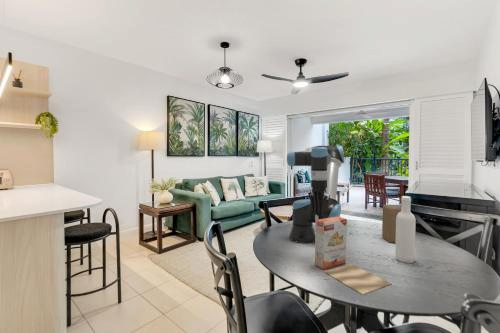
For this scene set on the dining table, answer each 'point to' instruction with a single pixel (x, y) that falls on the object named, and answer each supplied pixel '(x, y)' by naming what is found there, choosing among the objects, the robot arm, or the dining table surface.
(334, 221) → the cracker box
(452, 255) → the dining table surface
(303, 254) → the dining table surface
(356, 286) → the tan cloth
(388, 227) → the wooden block
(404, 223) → the bottle
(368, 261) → the dining table surface
